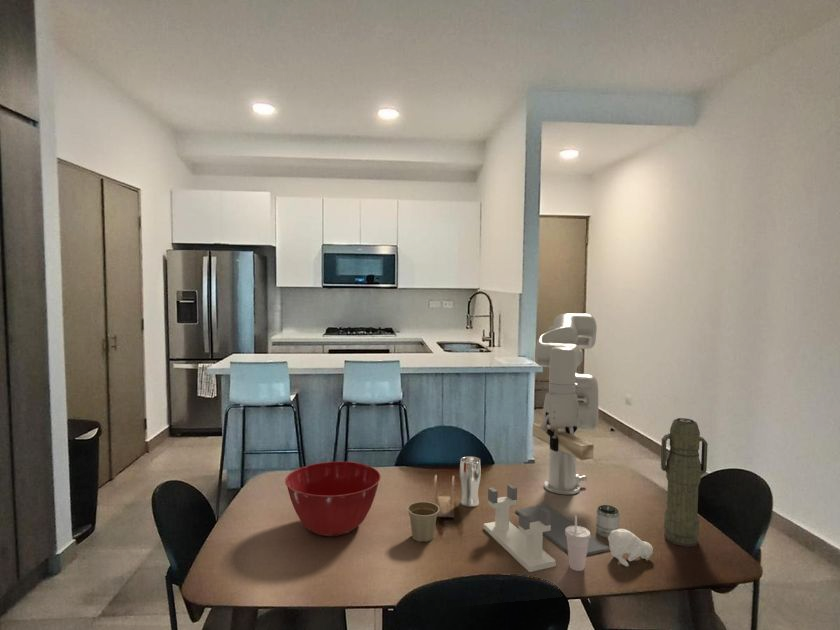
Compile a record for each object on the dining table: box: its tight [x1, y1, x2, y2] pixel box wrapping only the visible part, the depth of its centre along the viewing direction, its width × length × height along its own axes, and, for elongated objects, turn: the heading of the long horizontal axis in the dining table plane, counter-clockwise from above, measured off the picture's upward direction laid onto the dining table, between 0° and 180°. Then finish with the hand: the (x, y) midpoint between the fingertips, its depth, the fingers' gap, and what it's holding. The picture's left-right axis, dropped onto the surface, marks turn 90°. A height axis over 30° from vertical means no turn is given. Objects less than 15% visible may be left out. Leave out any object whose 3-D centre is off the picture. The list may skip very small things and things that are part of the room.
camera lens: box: [595, 504, 620, 539], centre depth 152 cm, size 6×6×8 cm
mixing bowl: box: [284, 461, 382, 537], centre depth 156 cm, size 28×28×15 cm
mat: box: [515, 503, 610, 557], centre depth 154 cm, size 12×30×1 cm, turn 21°
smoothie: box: [565, 514, 592, 572], centre depth 133 cm, size 6×6×14 cm
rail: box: [532, 421, 595, 461], centre depth 152 cm, size 4×24×4 cm, turn 21°
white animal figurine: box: [607, 528, 654, 567], centre depth 137 cm, size 6×8×12 cm
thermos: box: [660, 417, 708, 547], centre depth 148 cm, size 9×12×35 cm
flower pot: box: [406, 501, 440, 543], centre depth 149 cm, size 9×9×9 cm
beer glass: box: [459, 455, 482, 508], centre depth 172 cm, size 7×7×15 cm
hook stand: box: [483, 483, 557, 573], centre depth 144 cm, size 8×25×14 cm, turn 21°
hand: (560, 448), depth 152 cm, fingers closed on rail, 4 cm apart
